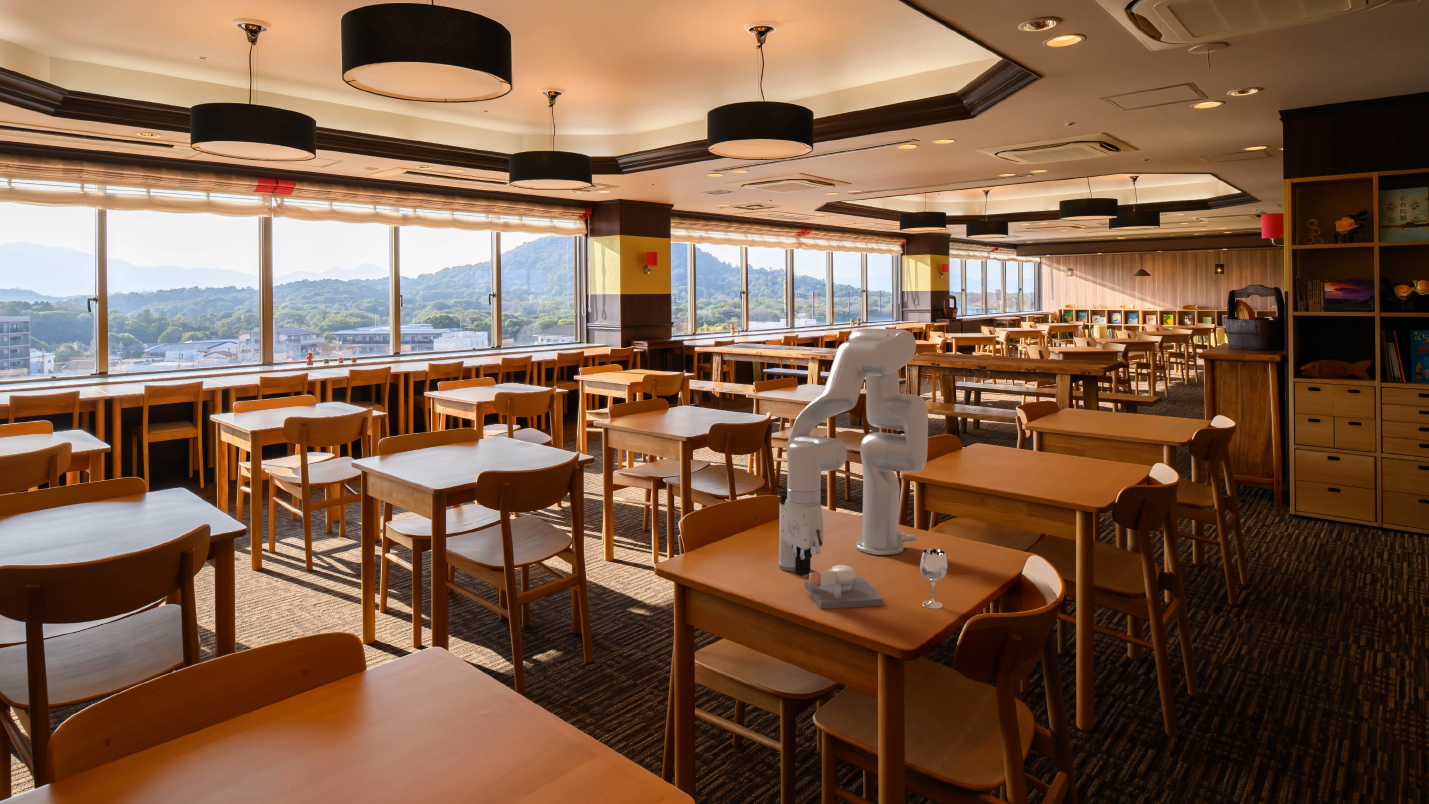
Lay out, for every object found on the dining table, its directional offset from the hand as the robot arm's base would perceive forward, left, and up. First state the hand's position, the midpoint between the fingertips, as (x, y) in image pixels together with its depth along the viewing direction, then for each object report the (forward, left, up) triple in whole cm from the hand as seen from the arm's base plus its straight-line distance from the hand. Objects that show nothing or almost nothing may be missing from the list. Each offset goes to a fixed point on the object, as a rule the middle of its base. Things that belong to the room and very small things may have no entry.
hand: (802, 573), depth 181 cm
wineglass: (-26, +12, -4) cm, 29 cm away
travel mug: (-1, -16, -4) cm, 17 cm away
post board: (-8, +4, -4) cm, 10 cm away
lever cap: (-5, +5, -1) cm, 7 cm away
